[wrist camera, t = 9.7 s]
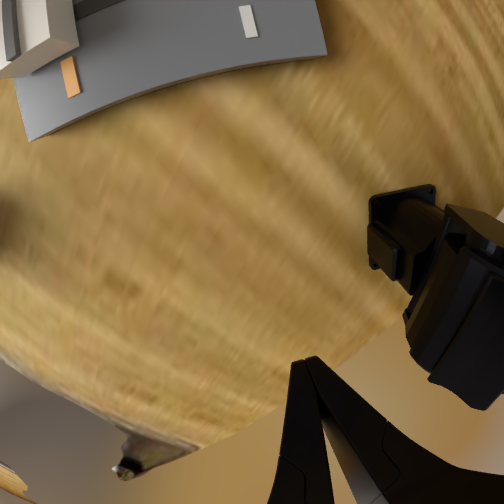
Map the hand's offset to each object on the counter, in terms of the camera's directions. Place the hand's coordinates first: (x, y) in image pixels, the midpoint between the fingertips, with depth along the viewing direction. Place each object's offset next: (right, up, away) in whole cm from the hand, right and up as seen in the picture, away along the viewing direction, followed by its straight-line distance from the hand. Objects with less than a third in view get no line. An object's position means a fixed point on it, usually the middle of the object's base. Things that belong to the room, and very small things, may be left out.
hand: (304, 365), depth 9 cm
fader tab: (-13, +16, 0) cm, 21 cm away
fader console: (-8, +19, +3) cm, 21 cm away
